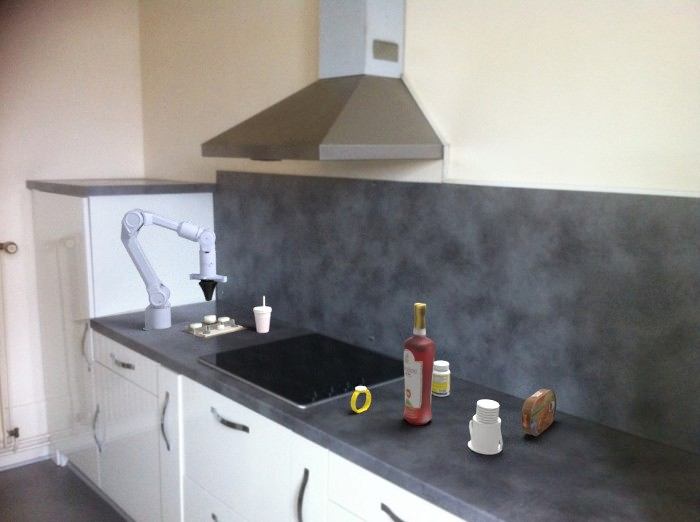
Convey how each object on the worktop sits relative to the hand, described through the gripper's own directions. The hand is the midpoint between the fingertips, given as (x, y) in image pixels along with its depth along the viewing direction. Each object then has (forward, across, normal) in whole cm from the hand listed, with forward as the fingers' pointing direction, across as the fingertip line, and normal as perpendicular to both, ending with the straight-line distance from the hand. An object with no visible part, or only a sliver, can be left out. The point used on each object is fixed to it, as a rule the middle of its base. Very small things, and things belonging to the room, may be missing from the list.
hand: (208, 300), depth 232 cm
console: (+10, +6, -5) cm, 13 cm away
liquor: (+11, +92, -53) cm, 107 cm away
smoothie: (+11, +22, 0) cm, 25 cm away
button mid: (+7, +3, -4) cm, 9 cm away
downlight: (+11, +110, -62) cm, 126 cm away
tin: (+11, +119, -47) cm, 128 cm away
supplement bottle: (+11, +93, -33) cm, 100 cm away
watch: (+11, +78, -52) cm, 94 cm away
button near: (+9, +1, -10) cm, 13 cm away
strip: (+9, +9, -6) cm, 14 cm away
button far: (+8, +5, +1) cm, 10 cm away
